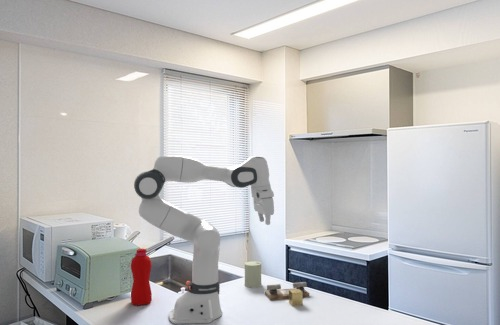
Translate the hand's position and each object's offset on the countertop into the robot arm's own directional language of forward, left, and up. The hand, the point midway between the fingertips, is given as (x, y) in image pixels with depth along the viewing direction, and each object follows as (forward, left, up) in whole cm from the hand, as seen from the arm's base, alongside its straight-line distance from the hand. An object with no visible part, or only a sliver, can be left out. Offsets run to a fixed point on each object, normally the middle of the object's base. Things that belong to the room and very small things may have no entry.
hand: (264, 223), depth 172 cm
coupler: (+15, +2, -38) cm, 41 cm away
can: (+3, +34, -38) cm, 51 cm away
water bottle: (-55, +22, -38) cm, 70 cm away
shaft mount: (+15, +14, -38) cm, 43 cm away
